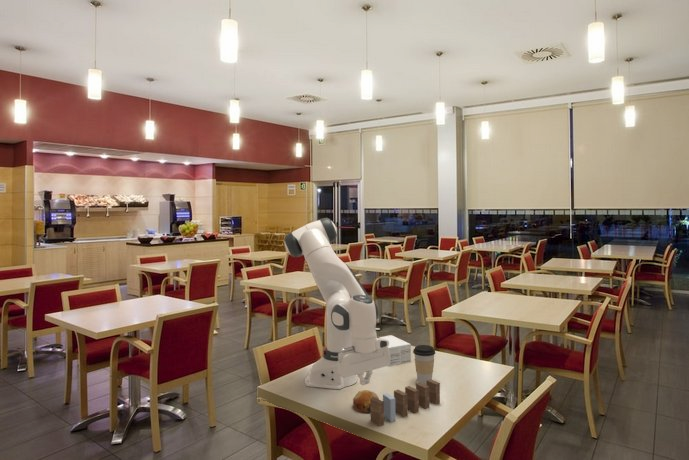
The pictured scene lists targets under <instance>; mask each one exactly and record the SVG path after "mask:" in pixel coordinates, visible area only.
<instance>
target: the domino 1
mask: <svg viewBox="0 0 689 460" xmlns="http://www.w3.org/2000/svg"><path fill="white" fill-rule="evenodd" d="M370 411H371V412H370V422H372V423H373V424H375V425H377V426H378V427H382V426H384V425H385V417H384V402H383V400H381V399H377V398H376V397H374V398H370Z"/></svg>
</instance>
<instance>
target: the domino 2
mask: <svg viewBox="0 0 689 460" xmlns="http://www.w3.org/2000/svg"><path fill="white" fill-rule="evenodd" d="M382 401H383V402H384V419H386V420H388V421H389V422H391V423H392V422H395V421H396V419H397V418H396V413H395V398H394V395H392V394H390V393H387V392H386V393H383V394H382Z"/></svg>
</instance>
